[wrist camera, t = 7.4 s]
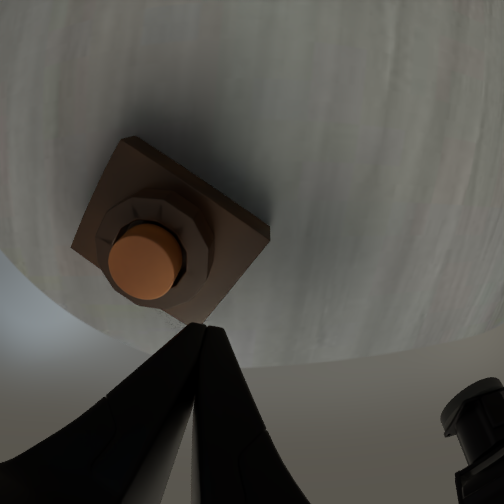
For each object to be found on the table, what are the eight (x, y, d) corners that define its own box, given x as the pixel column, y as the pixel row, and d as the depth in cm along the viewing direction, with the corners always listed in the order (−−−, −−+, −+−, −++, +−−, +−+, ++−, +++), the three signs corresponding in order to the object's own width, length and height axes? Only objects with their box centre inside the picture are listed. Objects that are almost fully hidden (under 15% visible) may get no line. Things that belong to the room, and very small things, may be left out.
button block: (270, 226, 20) (270, 254, 16) (202, 311, 23) (191, 348, 19) (135, 135, 18) (105, 143, 14) (85, 234, 21) (55, 259, 17)
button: (195, 248, 17) (187, 263, 15) (163, 294, 18) (154, 312, 16) (138, 210, 16) (124, 221, 14) (111, 259, 17) (98, 274, 16)
